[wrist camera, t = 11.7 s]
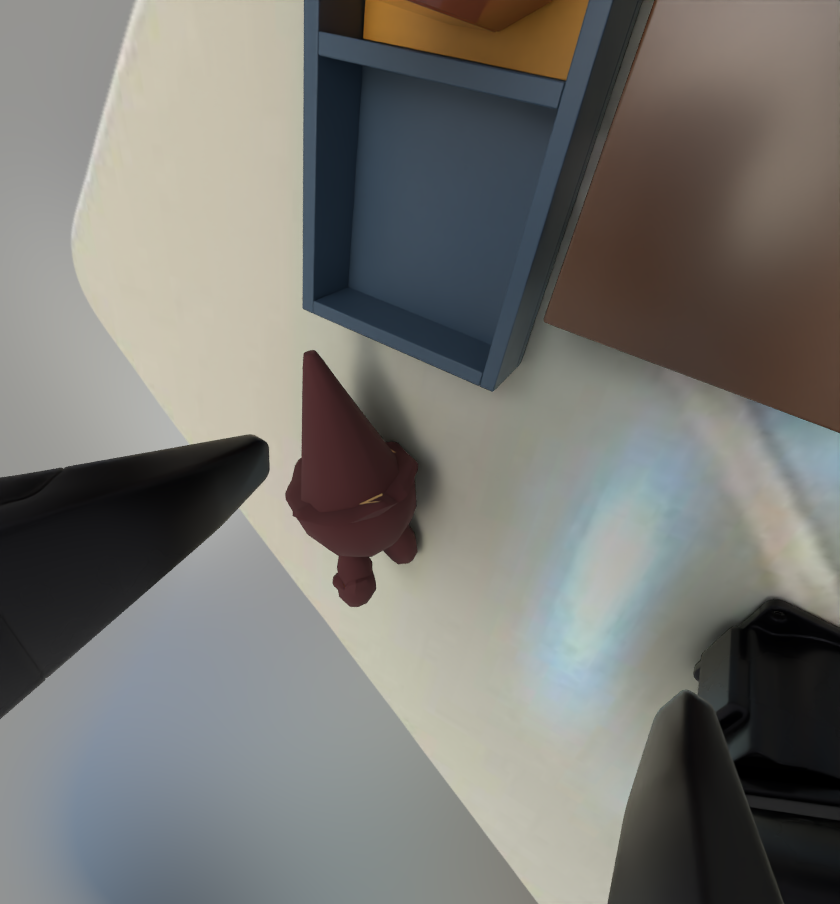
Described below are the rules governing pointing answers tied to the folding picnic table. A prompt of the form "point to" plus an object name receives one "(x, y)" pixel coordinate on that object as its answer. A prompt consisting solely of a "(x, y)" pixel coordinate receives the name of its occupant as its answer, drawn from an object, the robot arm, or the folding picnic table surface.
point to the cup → (472, 11)
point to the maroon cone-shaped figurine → (350, 484)
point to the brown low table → (721, 205)
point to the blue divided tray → (447, 170)
